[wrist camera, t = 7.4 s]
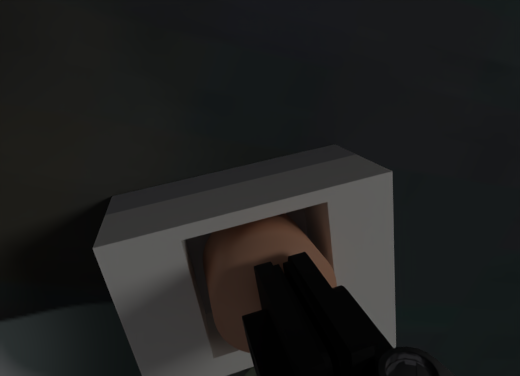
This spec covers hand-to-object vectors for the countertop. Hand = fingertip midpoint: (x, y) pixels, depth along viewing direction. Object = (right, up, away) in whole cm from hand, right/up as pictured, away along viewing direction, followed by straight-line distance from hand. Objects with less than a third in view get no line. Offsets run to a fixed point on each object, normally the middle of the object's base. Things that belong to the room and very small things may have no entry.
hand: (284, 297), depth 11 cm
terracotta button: (-1, +1, +3) cm, 3 cm away
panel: (-1, -4, +8) cm, 9 cm away
